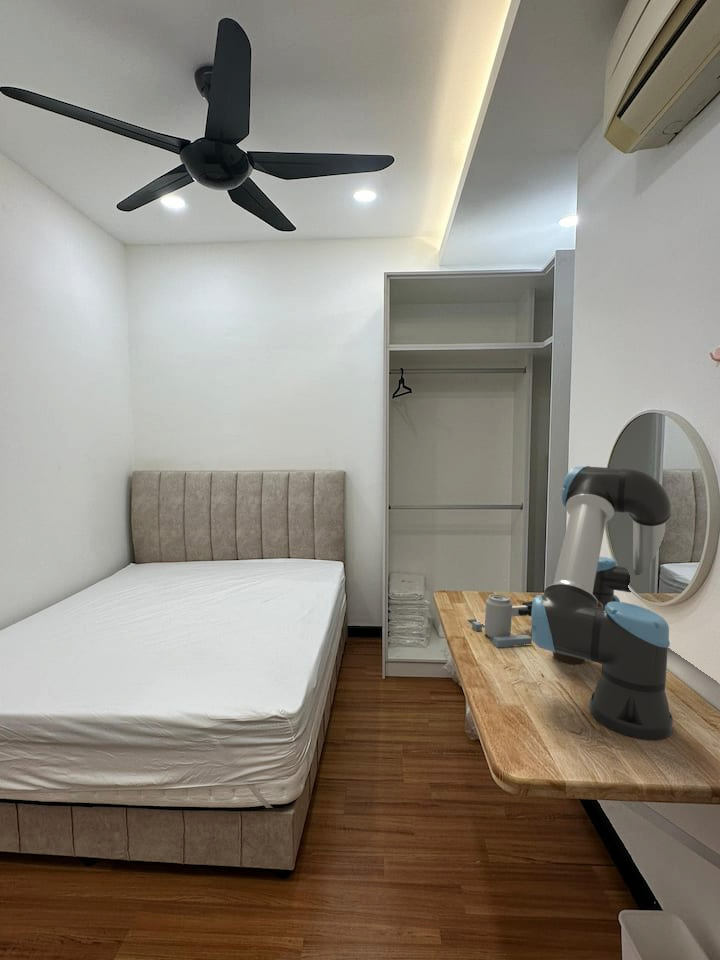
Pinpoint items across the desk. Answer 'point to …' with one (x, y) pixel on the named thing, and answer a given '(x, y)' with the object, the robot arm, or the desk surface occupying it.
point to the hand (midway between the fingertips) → (507, 611)
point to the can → (498, 616)
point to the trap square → (474, 621)
